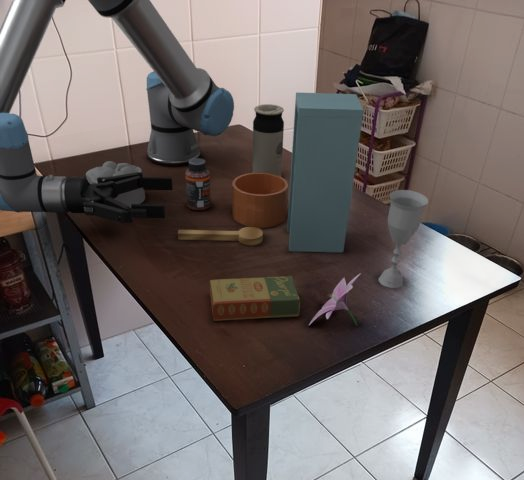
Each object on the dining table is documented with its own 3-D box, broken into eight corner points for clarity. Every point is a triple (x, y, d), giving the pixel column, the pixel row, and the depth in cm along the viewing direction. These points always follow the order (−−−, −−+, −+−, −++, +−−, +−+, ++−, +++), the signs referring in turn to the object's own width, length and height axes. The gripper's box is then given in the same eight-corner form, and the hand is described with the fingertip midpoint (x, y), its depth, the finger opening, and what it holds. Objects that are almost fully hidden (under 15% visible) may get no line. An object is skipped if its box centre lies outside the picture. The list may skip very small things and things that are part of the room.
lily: (347, 301, 107) (328, 261, 102) (393, 308, 97) (374, 265, 93) (308, 340, 103) (286, 301, 98) (352, 352, 93) (330, 310, 89)
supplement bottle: (207, 212, 132) (205, 167, 124) (183, 210, 133) (180, 164, 125) (213, 202, 136) (212, 157, 129) (191, 199, 137) (188, 155, 130)
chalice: (367, 275, 112) (382, 192, 101) (394, 268, 115) (412, 187, 103) (386, 293, 107) (404, 209, 96) (415, 287, 109) (436, 203, 98)
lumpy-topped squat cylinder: (87, 197, 136) (81, 163, 131) (137, 188, 141) (133, 155, 136) (100, 214, 130) (94, 179, 124) (151, 203, 135) (148, 169, 129)
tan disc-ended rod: (177, 244, 120) (176, 237, 119) (180, 231, 124) (179, 225, 123) (262, 245, 120) (263, 239, 119) (262, 233, 125) (263, 226, 124)
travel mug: (246, 177, 149) (246, 108, 137) (265, 169, 153) (267, 101, 142) (268, 185, 145) (270, 115, 133) (287, 176, 150) (291, 108, 138)
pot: (233, 202, 136) (233, 171, 131) (285, 204, 137) (286, 173, 132) (231, 227, 127) (231, 194, 121) (287, 228, 127) (289, 196, 122)
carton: (210, 296, 105) (209, 277, 102) (291, 292, 107) (292, 273, 104) (213, 322, 99) (212, 303, 96) (299, 317, 101) (301, 298, 98)
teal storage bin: (287, 229, 126) (296, 92, 107) (338, 230, 127) (356, 94, 107) (288, 251, 119) (298, 107, 99) (343, 252, 119) (363, 109, 100)
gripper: (47, 204, 104) (158, 206, 104) (79, 155, 122) (173, 157, 123) (55, 239, 108) (162, 241, 109) (85, 187, 127) (176, 189, 128)
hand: (168, 197), depth 116 cm, fingers open, 13 cm apart
